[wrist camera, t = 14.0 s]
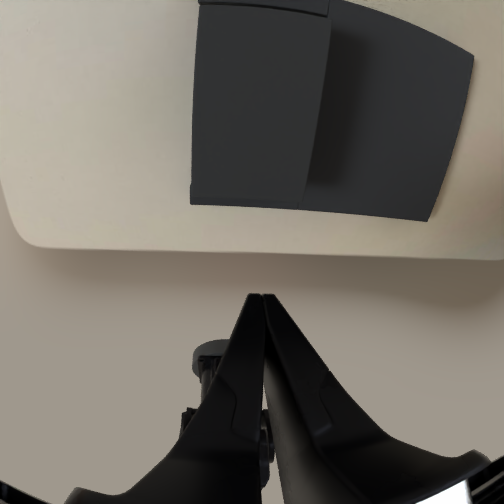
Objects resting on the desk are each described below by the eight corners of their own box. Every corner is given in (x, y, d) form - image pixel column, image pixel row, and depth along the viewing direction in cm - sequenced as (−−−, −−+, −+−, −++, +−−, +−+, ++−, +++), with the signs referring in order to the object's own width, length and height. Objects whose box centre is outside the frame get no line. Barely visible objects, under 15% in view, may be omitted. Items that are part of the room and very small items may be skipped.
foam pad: (290, 174, 19) (302, 203, 16) (199, 169, 19) (191, 197, 15) (312, 26, 13) (333, 19, 10) (207, 15, 12) (199, 4, 9)
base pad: (420, 214, 21) (427, 222, 21) (192, 196, 20) (190, 204, 19) (464, 53, 13) (474, 55, 12) (202, -13, 11) (199, -18, 10)
